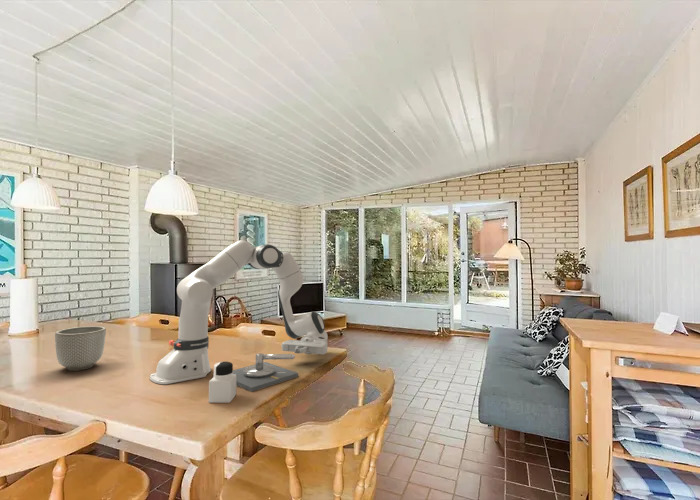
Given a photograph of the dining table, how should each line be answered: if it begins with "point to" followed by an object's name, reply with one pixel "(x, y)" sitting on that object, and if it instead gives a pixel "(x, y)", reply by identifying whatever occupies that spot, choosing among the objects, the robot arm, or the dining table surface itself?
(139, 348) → the dining table surface
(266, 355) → the capstan dial
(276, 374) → the base plate
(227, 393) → the medicine bottle
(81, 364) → the planter
